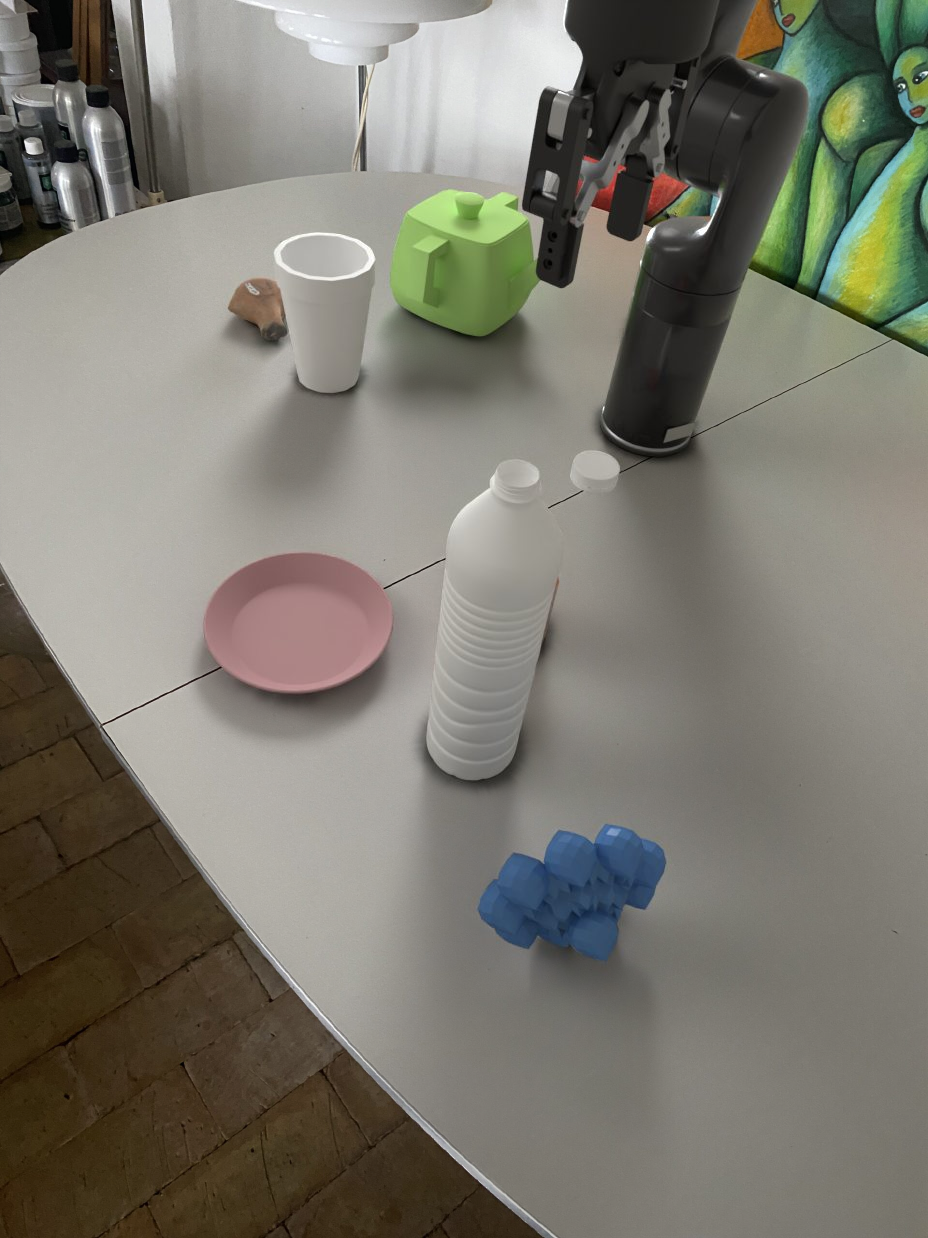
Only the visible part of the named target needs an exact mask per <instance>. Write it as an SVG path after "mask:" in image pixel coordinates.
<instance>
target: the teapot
mask: <svg viewBox="0 0 928 1238" xmlns="http://www.w3.org/2000/svg"><path fill="white" fill-rule="evenodd" d="M537 259H538V257H536V258H535V257H534V245H533V237H532V229H531V224H530V219H529V218H528V217H527V216H526V215H525V214H523V213H522V212H520V211H519V196H516V195H514V194H511V193H509V192H506V191H501V192H500V193H497V194H496V195H494V196H492V197H491V198H485V197H484V196H482V195H481V194H479V193H476V192H471V191H461V190H457V189H452V188H451V189H449V188H448V189H445V190H442V191H440V192H438V193H436V194H433V195H432V196H430V197H428V198H426V199H425V200H423V201H421V202H419V203H418V204H416V205H414V206H413V207H412V208H410V209H408V211H406V213H405V214H404V217H403V219H402V222H401V225H400V228H399V230H398V234H397V237H396V241H395V245H394V249H393V253H392V257H391V264H390V275H389V284H390V285H389V287H390V289H391V293H392V296H393V298H394V300H395V302H396V303H397V304H398V305H399V306H401V307H402V308H404V309H405V310H407V311H408V312H410V313H413V314H414V315H416V316H418V317H420V318H422V319H424V320H426V321H428V322H430V323H433V324H436V325H438V326H441V327H444V328H446V329H449V330H453V331H455V332H459V333H461V334H464V335H470V336H475V337H484V336H487V335H489V334H491V333H492V332H495V330H497V329H499V328H500V327H501V326H503V325H504V324H506V323H507V322H508V321H509V320H511V319H512V318H513V317H514V316H515V315H516V314H517V313H519V311H521V309H523V307H524V306H525V304H526V302H527V301H528V299H529V297H530V295H531V293H532V290H534V289H535V287H536V286H537V285H538V284H539V283H540V281H541V280H540V279H539V278H538V277H537V275H536V265H537Z"/></svg>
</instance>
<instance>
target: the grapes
mask: <svg viewBox="0 0 928 1238" xmlns="http://www.w3.org/2000/svg"><path fill="white" fill-rule="evenodd" d="M666 866H667V858H666V855H665V851H664V848H662V847H661V846H660V845H659V844H657V843H656V841H652V840H649V839H647V838H644V837H641V836H639V835H638V834H637V833H636V832H635V831H634V830H632V829H630V828H627V827H624V826H621V825H615V824H610V823H604V825H602V828H601V829H600V831H599V832H598V834H597V835H596V837H595V839H594V841H593V842H592V841H591V840H590V839H589V838H588V837H586V836H584V835H581V834H579V833H576V832H572V831H568V830H561V829H558V830H557V832H556V833H554V835H553V836H552V838H551V839H550V841H549V842H548V844H547V846H546V849H545V851H544V856H543V861H541V860H540V859H537V858H535V857H532V856H529V855H526V854H523V853H519V852H512V853H511V854H510V855H509V857H508V858H507V859H506V860H505V862H504V863H503V865H502V866H501V869H500V870H499V872H498V878H493V879H492V880H491V881H490V883H488V885H487V886H486V888H485V889H484V891H483V893H482V894H481V896H480V898H479V902H478V906H477V912H478V915H479V918H480V920H482V921H483V922H484V923H485V924H486V925H488V926H489V927H490V928H492V929H494V932H495V934H496V935H497V936H498V937H500V938H501V939H502V940H503V941H505V942H507V943H508V944H511V945H513V946H516V947H519V948H521V949H526V950H529V949H530V948H531V946H532V945H533V944H534V943H535V941H536V939H537V938H538V937H539V938H541V939H542V940H543V941H545V942H548V943H550V944H553V945H555V946H558V947H562V948H568V946H570V947H572V948H573V949H574V950H575V951H577V952H578V953H580V954H581V955H583V956H585V957H587V958H590V959H594V960H597V961H600V962H604V963H605V962H607V960H608V959H609V957H610V956H611V954H612V952H613V950H614V949H615V946H616V945H617V940H618V937H619V933H620V931H619V925H618V922H619V920H620V918H621V916H622V912H623V910H624V907H625V906H629V907H632V908H634V909H639V910H644V911H646V910H647V909H648V906H649V905H650V903H651V901H652V900H653V898H654V896H655V893H656V889H657V886H658V884H659V883H660V881H661V879H662V877H663V875H664V873H665V869H666Z"/></svg>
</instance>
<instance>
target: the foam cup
mask: <svg viewBox="0 0 928 1238" xmlns="http://www.w3.org/2000/svg"><path fill="white" fill-rule="evenodd" d="M273 261H274V264H273V265H274V275H275V281H277V286H278V287H279V288H280V291H281V296H282V300H283V305H284V310H285V315H286V317H285V320H286V324H287V331H288V334H289V339H290V343H291V350H292V353H293V358H294V359H293V360H294V363H295V367H296V368H295V369H296V373H297V376H298V381H299V383H301V385H303V386H304V387H305V388H306V389H309V390H312V391H314V392H316V393H324V394H335V393H339V392H344V391H347V390H349V389H350V388H353V387H354V386H355V385H356V384H357V381H358V380H359V377H360V376H359V375H360V373H361V372H360V371H361V365H362V360H363V352H364V345H365V338H366V332H367V325H368V319H369V313H370V306H371V298H372V291H373V287H374V286H375V284H376V257H375V255H374V252H373V249H372V248H371V247H370V246H368V245H367V244H365V243H364V242H363V241H361V240H360V239H357V238H354V237H351V236H348V235H344V234H341V233H333V232H319V231H315V232H310V233H309V232H308V233H301V234H296V235H293V236H291V237H289V238H287V239H284V240H282V241H281V242H280V243H279V244H278V245H277V246H276V248H275V249H274V250H273Z"/></svg>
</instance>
